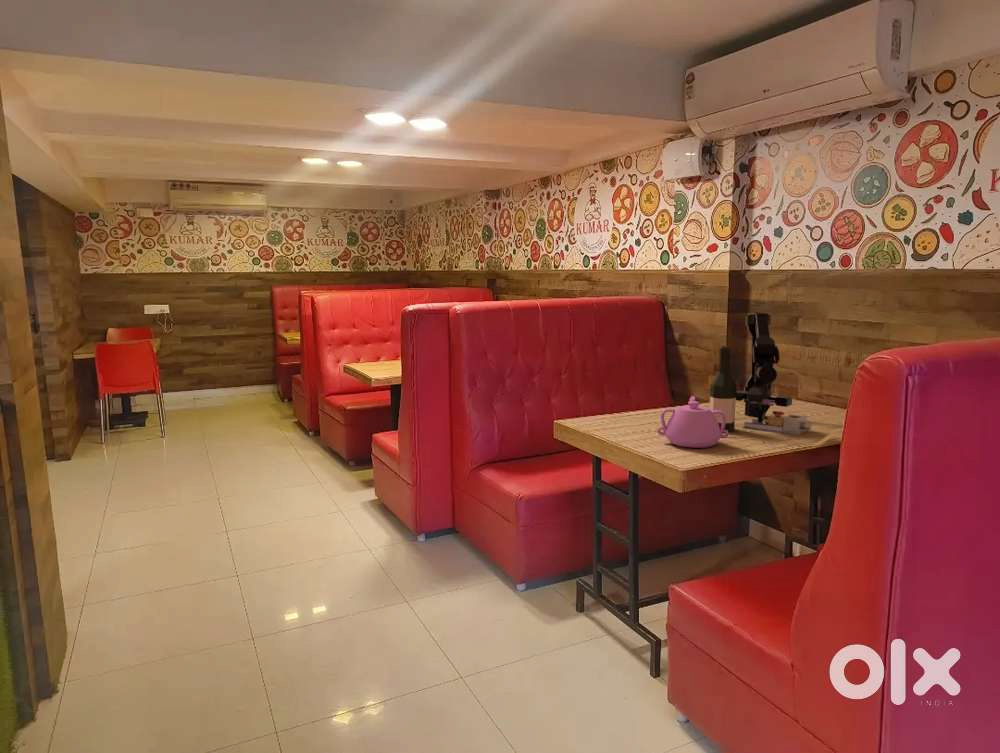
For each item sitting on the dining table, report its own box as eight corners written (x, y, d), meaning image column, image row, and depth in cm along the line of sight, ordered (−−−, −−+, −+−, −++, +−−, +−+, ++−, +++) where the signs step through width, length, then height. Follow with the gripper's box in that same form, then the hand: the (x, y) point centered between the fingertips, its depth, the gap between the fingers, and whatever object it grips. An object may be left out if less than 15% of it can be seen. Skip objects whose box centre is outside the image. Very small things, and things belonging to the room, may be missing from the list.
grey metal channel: (740, 430, 234) (741, 413, 233) (753, 424, 243) (754, 408, 242) (803, 439, 221) (805, 421, 220) (814, 433, 230) (815, 415, 229)
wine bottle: (734, 430, 234) (738, 345, 230) (734, 436, 226) (738, 347, 222) (709, 429, 237) (712, 344, 232) (708, 434, 229) (711, 346, 225)
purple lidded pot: (724, 436, 227) (725, 395, 225) (731, 452, 206) (732, 408, 204) (657, 433, 232) (658, 393, 230) (657, 448, 211) (658, 405, 209)
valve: (761, 428, 233) (762, 411, 232) (766, 426, 237) (767, 409, 236) (793, 433, 226) (794, 415, 225) (798, 430, 229) (799, 413, 228)
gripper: (727, 378, 233) (725, 422, 235) (783, 384, 221) (779, 430, 223) (740, 374, 241) (737, 417, 244) (794, 380, 229) (790, 425, 232)
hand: (760, 422), depth 235 cm, fingers closed
